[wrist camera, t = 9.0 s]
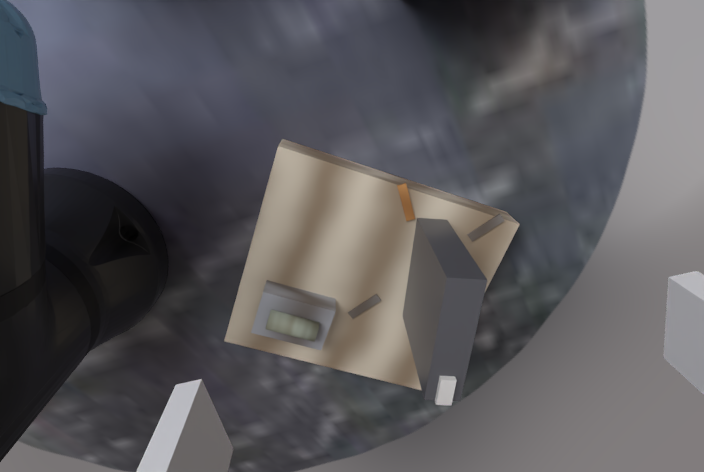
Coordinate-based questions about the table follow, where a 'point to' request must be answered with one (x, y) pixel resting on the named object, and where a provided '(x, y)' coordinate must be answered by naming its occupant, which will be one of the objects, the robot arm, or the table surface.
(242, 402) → the table surface
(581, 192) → the table surface
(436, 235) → the dark grey block
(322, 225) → the instrument base
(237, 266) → the table surface
